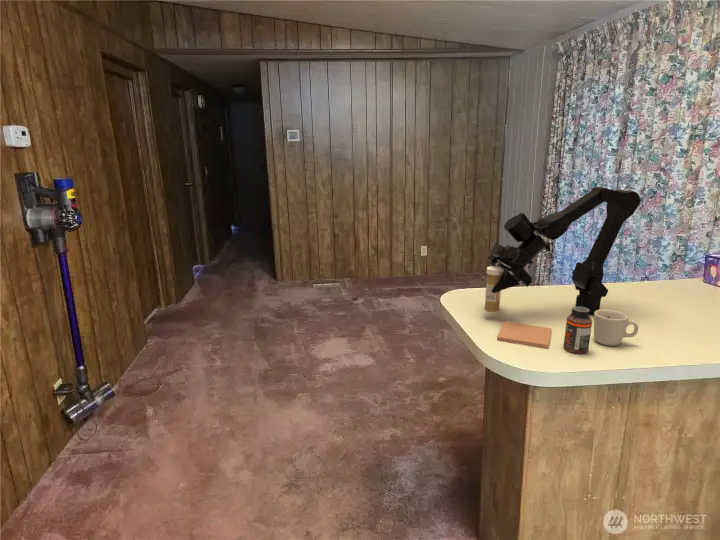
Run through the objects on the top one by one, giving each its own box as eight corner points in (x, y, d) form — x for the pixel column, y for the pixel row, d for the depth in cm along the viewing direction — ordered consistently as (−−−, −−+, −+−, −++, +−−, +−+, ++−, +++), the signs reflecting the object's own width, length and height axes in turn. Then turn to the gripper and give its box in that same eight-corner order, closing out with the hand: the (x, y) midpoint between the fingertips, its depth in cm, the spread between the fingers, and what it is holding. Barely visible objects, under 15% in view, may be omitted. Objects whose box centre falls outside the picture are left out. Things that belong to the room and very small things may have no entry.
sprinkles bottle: (502, 310, 144) (506, 267, 141) (492, 313, 142) (495, 270, 138) (491, 306, 148) (494, 264, 144) (480, 309, 145) (483, 266, 142)
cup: (632, 340, 130) (636, 312, 128) (638, 351, 122) (643, 322, 120) (588, 334, 133) (592, 307, 131) (592, 345, 126) (596, 317, 124)
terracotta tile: (551, 331, 135) (551, 328, 135) (548, 348, 124) (548, 345, 124) (504, 324, 140) (504, 321, 140) (496, 340, 129) (497, 336, 129)
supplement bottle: (558, 345, 126) (563, 304, 123) (580, 344, 127) (585, 304, 124) (570, 355, 120) (575, 312, 117) (592, 354, 121) (598, 312, 118)
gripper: (495, 228, 148) (460, 264, 149) (525, 240, 130) (485, 281, 131) (516, 251, 152) (482, 287, 153) (549, 266, 134) (510, 306, 135)
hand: (488, 289), depth 143 cm, fingers closed on sprinkles bottle, 4 cm apart
